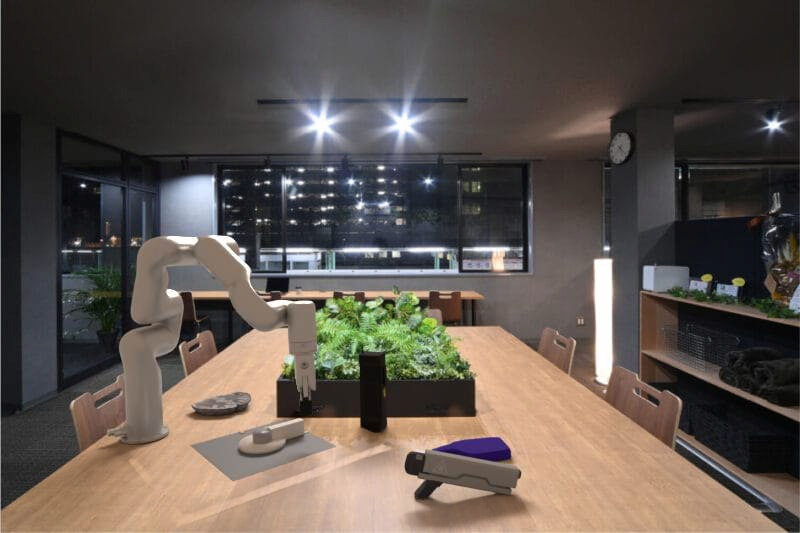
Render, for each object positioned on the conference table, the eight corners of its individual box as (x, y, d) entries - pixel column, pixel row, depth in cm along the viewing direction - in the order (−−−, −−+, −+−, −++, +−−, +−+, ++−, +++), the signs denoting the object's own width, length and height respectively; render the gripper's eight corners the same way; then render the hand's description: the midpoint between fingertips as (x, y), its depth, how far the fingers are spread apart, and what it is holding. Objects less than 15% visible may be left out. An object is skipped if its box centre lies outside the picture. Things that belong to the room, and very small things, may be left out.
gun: (398, 489, 106) (407, 445, 105) (509, 510, 107) (519, 466, 107) (398, 495, 103) (408, 449, 103) (512, 516, 105) (522, 471, 104)
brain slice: (213, 423, 153) (213, 413, 153) (185, 412, 163) (184, 403, 163) (265, 406, 168) (265, 397, 168) (236, 397, 179) (235, 389, 179)
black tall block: (391, 426, 147) (389, 343, 146) (384, 433, 141) (382, 347, 140) (367, 423, 149) (365, 342, 148) (359, 430, 144) (357, 346, 143)
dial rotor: (251, 458, 121) (250, 442, 121) (231, 444, 130) (231, 429, 130) (313, 438, 133) (313, 424, 133) (291, 427, 142) (291, 413, 142)
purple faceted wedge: (498, 434, 132) (409, 443, 128) (514, 450, 121) (417, 460, 117) (499, 445, 132) (410, 454, 128) (514, 462, 121) (418, 472, 117)
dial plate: (233, 487, 110) (233, 480, 110) (190, 450, 131) (190, 444, 131) (336, 451, 129) (336, 445, 129) (284, 424, 150) (284, 418, 150)
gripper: (319, 351, 125) (322, 421, 126) (315, 341, 140) (317, 404, 140) (289, 353, 123) (292, 425, 124) (288, 343, 138) (291, 407, 138)
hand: (305, 414), depth 132 cm, fingers closed
